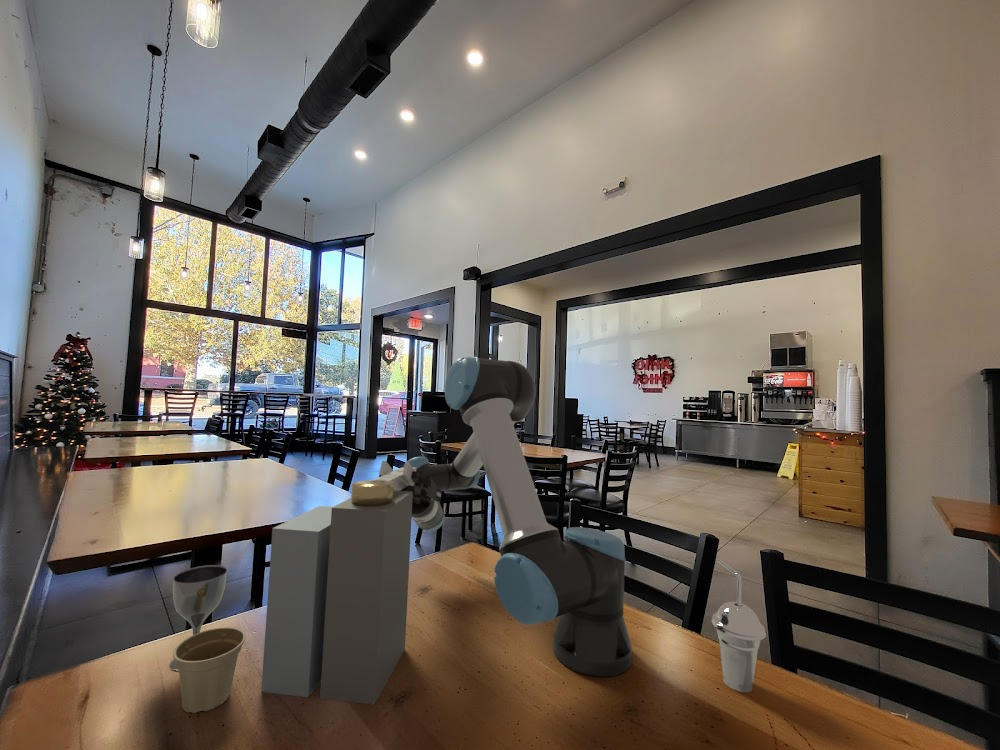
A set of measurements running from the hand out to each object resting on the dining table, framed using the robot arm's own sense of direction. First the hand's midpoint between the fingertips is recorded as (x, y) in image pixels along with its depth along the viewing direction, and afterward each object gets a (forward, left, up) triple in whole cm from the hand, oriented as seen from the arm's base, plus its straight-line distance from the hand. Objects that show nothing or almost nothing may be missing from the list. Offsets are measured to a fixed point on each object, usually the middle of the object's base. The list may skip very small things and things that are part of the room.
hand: (394, 467), depth 85 cm
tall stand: (0, +9, -34) cm, 35 cm away
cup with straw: (-66, +1, -34) cm, 74 cm away
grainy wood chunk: (0, +3, -4) cm, 5 cm away
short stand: (+10, +9, -34) cm, 37 cm away
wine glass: (+31, +10, -34) cm, 48 cm away
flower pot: (+21, +19, -34) cm, 45 cm away
